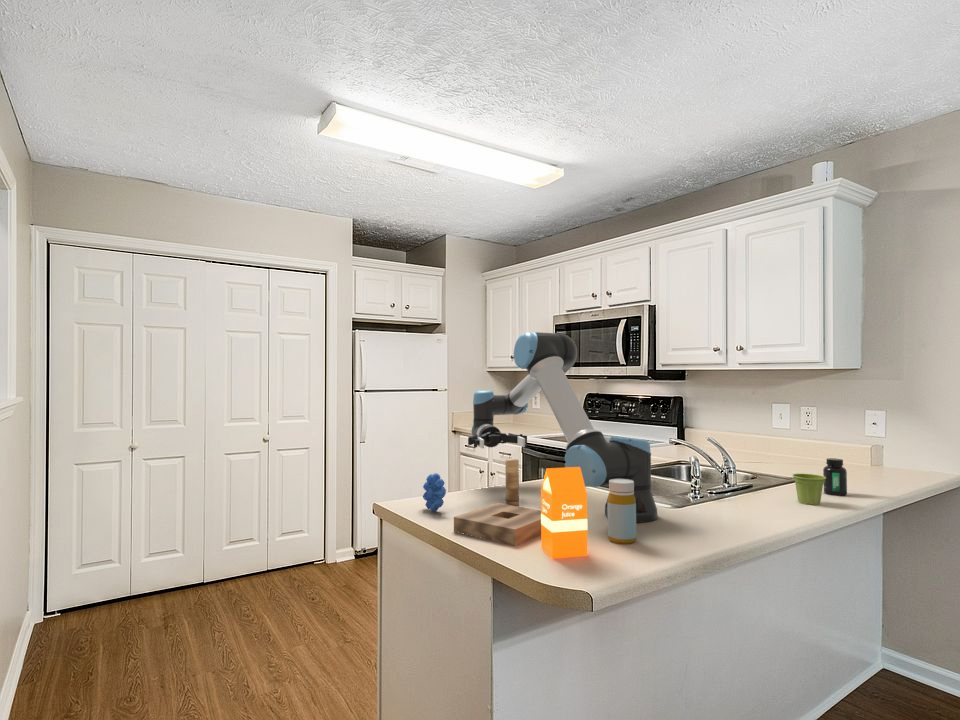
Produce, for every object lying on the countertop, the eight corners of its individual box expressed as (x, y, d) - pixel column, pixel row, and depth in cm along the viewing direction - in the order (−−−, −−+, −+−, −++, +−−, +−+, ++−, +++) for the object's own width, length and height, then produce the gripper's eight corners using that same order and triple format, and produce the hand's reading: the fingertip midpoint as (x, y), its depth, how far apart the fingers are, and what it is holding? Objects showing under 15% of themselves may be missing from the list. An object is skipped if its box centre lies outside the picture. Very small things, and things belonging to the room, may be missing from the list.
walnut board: (556, 527, 155) (556, 513, 155) (515, 545, 140) (515, 529, 140) (498, 516, 168) (497, 503, 168) (453, 531, 152) (453, 516, 152)
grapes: (456, 513, 172) (455, 473, 172) (436, 516, 168) (436, 476, 168) (437, 506, 181) (436, 468, 182) (418, 509, 178) (418, 470, 178)
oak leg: (521, 512, 172) (521, 459, 172) (514, 515, 169) (513, 461, 169) (510, 510, 175) (510, 458, 175) (503, 513, 171) (502, 460, 172)
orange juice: (541, 548, 137) (540, 465, 138) (575, 545, 139) (574, 464, 140) (552, 559, 130) (551, 471, 130) (588, 555, 132) (587, 469, 132)
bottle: (605, 536, 147) (604, 478, 148) (632, 536, 147) (632, 478, 147) (610, 544, 140) (610, 483, 141) (639, 544, 140) (638, 483, 140)
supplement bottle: (840, 497, 191) (839, 461, 191) (819, 493, 196) (819, 458, 197) (851, 494, 194) (850, 459, 194) (830, 491, 200) (829, 457, 200)
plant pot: (808, 498, 189) (807, 472, 189) (833, 505, 180) (833, 477, 180) (785, 500, 186) (785, 474, 186) (810, 507, 177) (810, 479, 177)
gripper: (522, 445, 205) (540, 453, 185) (454, 447, 200) (465, 456, 179) (522, 424, 205) (540, 430, 185) (454, 425, 200) (465, 432, 179)
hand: (503, 443), depth 182 cm, fingers open, 13 cm apart
